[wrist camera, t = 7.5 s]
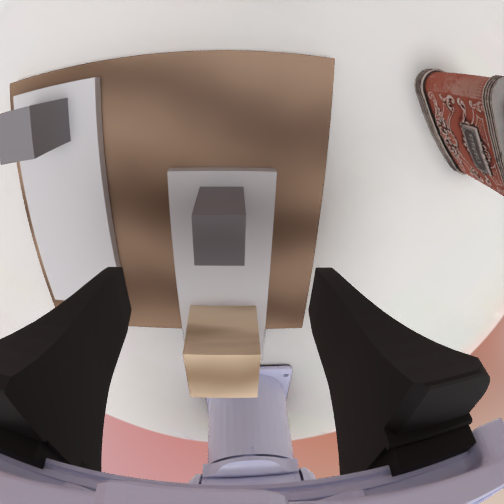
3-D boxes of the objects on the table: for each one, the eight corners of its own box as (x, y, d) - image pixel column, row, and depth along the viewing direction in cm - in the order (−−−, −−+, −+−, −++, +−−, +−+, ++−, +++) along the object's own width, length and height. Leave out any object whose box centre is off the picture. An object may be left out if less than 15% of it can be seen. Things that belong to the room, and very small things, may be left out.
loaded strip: (261, 353, 25) (266, 400, 21) (187, 352, 25) (182, 400, 21) (275, 168, 18) (288, 197, 14) (169, 167, 18) (150, 196, 13)
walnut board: (299, 319, 25) (301, 327, 24) (64, 313, 24) (60, 320, 23) (329, 59, 16) (334, 58, 15) (18, 82, 14) (9, 83, 14)
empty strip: (127, 296, 22) (109, 343, 18) (59, 293, 22) (33, 335, 17) (100, 77, 14) (59, 79, 10) (20, 95, 14) (-28, 106, 10)
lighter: (404, 81, 16) (519, 101, 8) (438, 60, 15) (553, 73, 7) (450, 179, 20) (544, 245, 11) (479, 157, 19) (575, 212, 10)
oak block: (253, 350, 24) (257, 397, 20) (194, 349, 24) (190, 397, 20) (256, 305, 22) (260, 354, 18) (190, 305, 22) (182, 354, 18)
